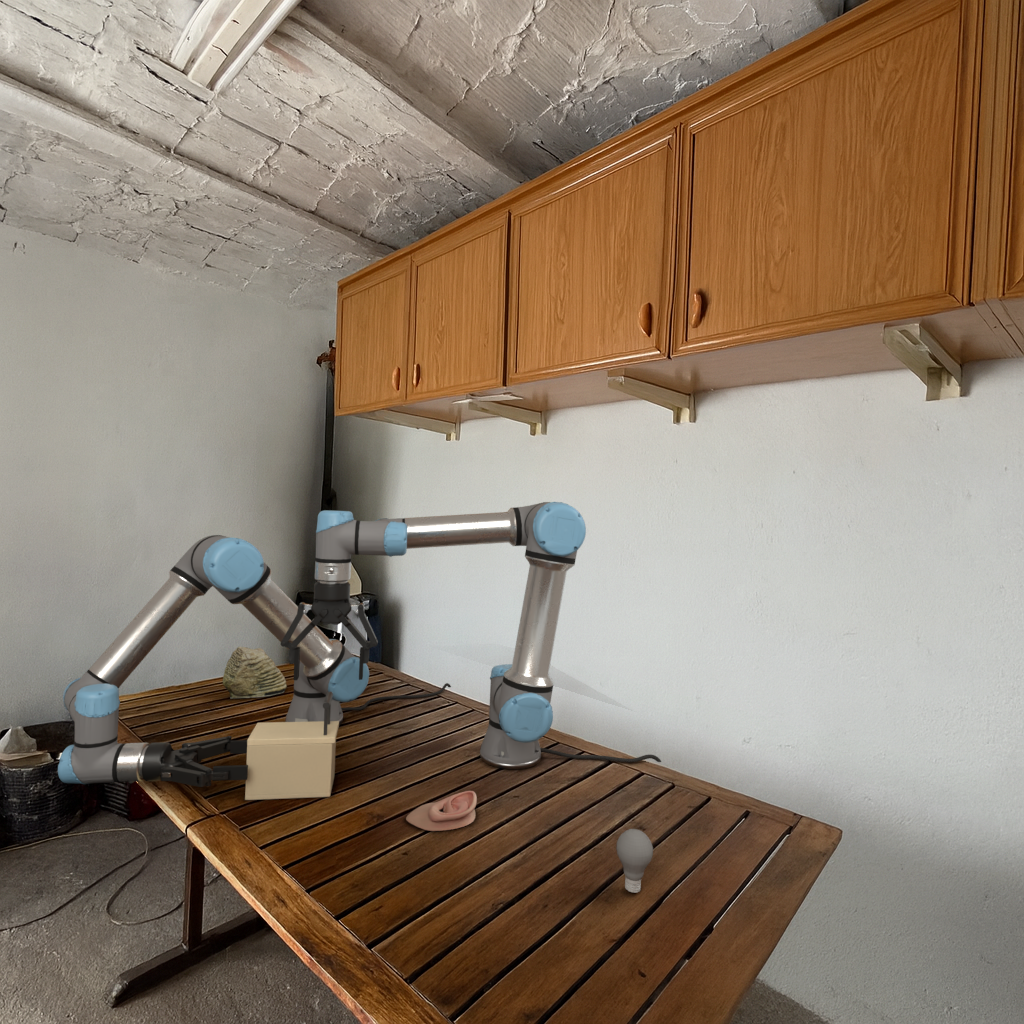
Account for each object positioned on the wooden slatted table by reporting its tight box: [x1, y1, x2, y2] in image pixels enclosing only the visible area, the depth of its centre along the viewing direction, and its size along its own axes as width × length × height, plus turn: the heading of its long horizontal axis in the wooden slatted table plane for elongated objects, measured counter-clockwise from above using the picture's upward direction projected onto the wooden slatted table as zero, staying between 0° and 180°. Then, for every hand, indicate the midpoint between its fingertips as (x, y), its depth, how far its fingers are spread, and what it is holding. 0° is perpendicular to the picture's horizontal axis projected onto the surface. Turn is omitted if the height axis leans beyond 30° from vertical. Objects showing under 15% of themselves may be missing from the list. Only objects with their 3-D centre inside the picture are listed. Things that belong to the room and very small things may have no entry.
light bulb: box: [615, 828, 654, 894], centre depth 106 cm, size 6×6×10 cm
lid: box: [246, 692, 340, 745], centre depth 137 cm, size 18×10×8 cm, turn 101°
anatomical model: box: [405, 790, 478, 832], centre depth 127 cm, size 13×4×12 cm
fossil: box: [222, 646, 288, 699], centre depth 198 cm, size 9×18×15 cm, turn 132°
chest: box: [244, 739, 337, 801], centre depth 137 cm, size 17×10×11 cm, turn 101°
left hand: (254, 758), depth 136 cm, fingers open, 13 cm apart
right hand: (328, 678), depth 138 cm, fingers open, 13 cm apart
